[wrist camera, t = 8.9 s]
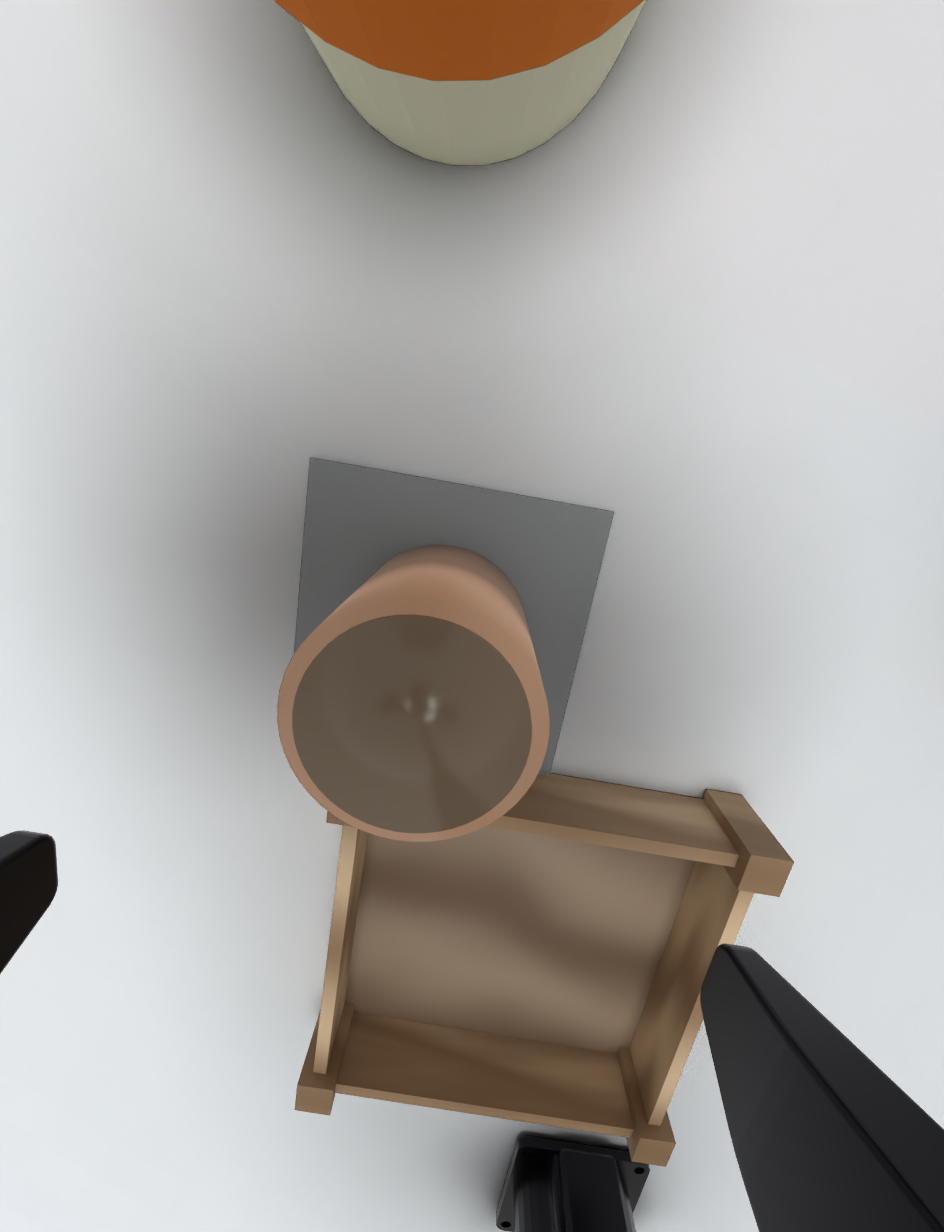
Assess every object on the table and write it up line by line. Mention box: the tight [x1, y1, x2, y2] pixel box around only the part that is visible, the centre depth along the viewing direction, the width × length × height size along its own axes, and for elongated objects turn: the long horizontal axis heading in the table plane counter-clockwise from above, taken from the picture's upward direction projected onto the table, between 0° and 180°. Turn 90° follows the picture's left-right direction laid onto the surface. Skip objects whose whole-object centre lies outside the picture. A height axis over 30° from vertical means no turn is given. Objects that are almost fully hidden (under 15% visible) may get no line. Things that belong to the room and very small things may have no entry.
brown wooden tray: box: [295, 773, 794, 1167], centre depth 20 cm, size 15×15×4 cm
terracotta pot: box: [277, 545, 550, 842], centre depth 15 cm, size 6×6×7 cm
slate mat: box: [294, 458, 614, 776], centre depth 18 cm, size 10×10×1 cm
